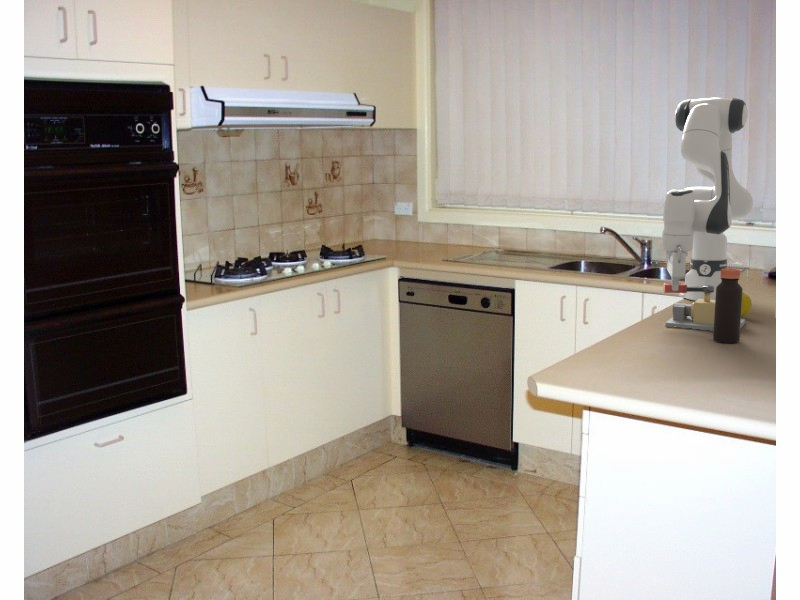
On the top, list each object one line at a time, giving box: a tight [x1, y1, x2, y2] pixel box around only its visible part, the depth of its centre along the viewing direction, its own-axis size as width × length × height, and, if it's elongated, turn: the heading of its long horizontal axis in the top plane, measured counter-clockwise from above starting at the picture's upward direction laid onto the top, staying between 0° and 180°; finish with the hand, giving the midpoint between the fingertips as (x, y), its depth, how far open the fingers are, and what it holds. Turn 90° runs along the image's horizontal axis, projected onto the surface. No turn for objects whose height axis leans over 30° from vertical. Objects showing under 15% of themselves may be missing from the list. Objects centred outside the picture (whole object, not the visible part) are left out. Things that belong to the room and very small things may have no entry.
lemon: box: [741, 292, 753, 319], centre depth 261 cm, size 6×6×8 cm
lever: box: [662, 283, 714, 294], centre depth 251 cm, size 4×14×2 cm, turn 83°
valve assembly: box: [665, 292, 746, 332], centre depth 251 cm, size 20×16×10 cm
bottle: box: [712, 267, 743, 344], centre depth 230 cm, size 7×7×20 cm
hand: (674, 290), depth 249 cm, fingers closed, pressing on lever
